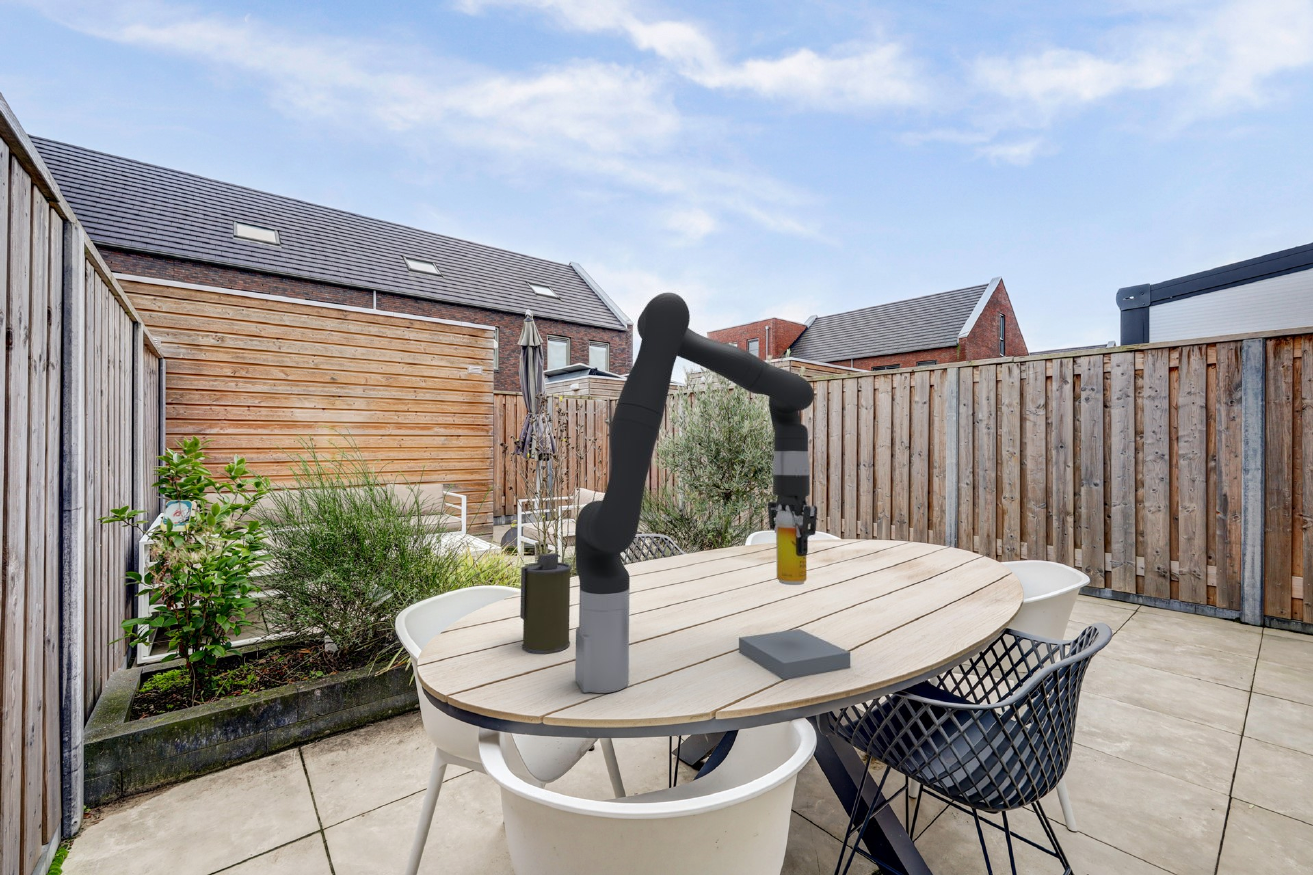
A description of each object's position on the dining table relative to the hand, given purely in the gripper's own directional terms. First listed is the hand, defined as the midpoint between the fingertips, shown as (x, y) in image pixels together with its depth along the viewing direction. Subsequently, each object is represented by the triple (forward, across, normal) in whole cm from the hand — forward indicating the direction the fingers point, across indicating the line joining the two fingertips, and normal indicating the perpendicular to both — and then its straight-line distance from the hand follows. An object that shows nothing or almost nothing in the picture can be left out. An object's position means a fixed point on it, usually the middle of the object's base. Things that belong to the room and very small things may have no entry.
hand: (791, 552), depth 111 cm
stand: (+22, 0, 0) cm, 22 cm away
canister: (+22, +27, +46) cm, 58 cm away
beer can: (+6, 0, 0) cm, 6 cm away
